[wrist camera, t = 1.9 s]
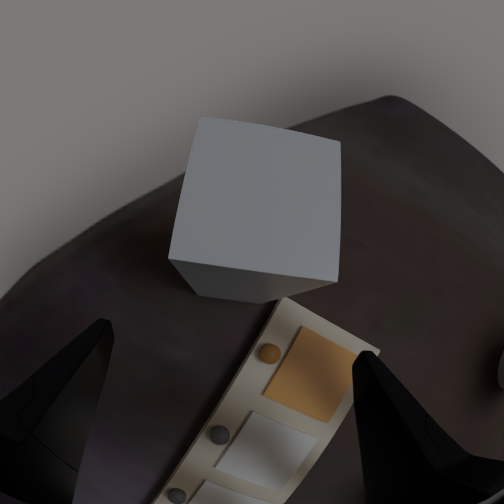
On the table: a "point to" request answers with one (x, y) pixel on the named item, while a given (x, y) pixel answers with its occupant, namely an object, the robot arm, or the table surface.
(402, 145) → the table surface
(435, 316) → the table surface
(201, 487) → the switch board
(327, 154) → the block
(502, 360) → the coffee cup
